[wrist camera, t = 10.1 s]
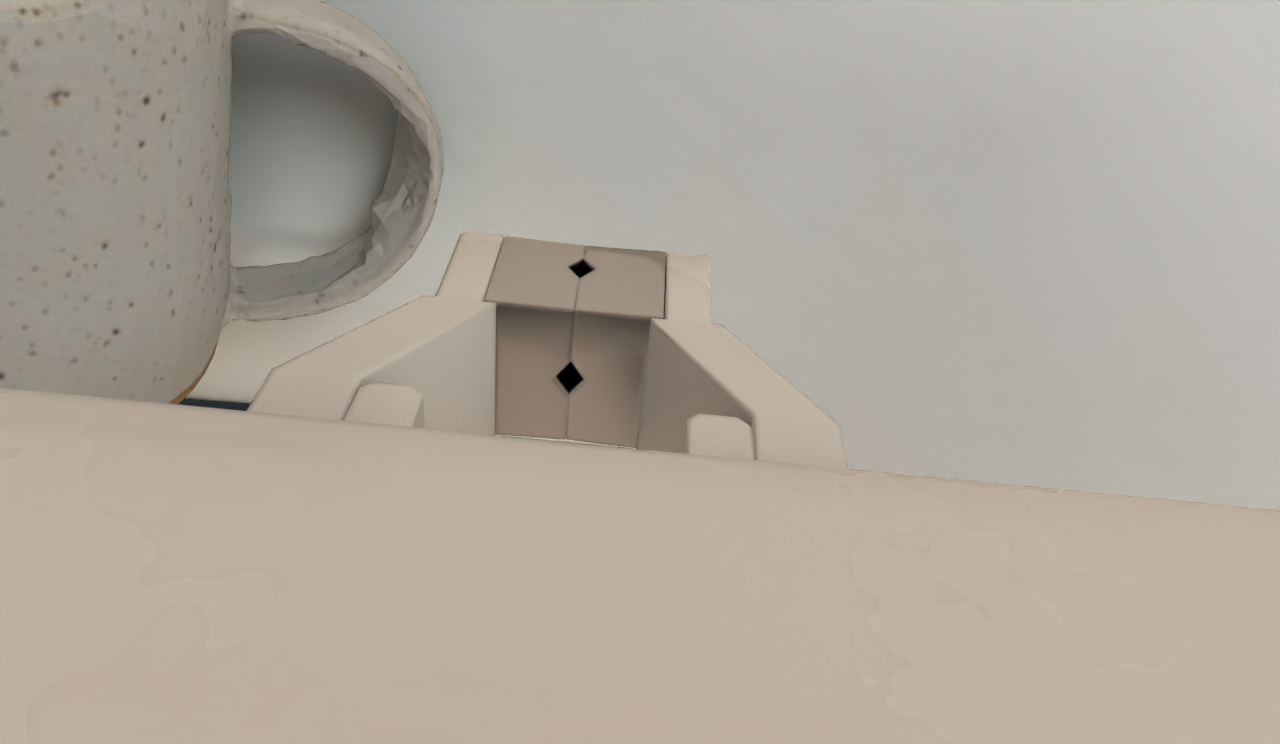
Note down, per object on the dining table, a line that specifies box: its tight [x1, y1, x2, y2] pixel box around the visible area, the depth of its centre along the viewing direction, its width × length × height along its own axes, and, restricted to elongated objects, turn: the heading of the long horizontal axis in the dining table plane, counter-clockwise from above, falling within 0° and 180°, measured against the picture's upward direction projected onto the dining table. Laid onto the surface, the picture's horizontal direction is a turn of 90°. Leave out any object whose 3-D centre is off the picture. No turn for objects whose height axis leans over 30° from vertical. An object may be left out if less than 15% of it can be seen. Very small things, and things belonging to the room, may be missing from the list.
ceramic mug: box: [0, 0, 444, 404], centre depth 15 cm, size 11×8×8 cm
